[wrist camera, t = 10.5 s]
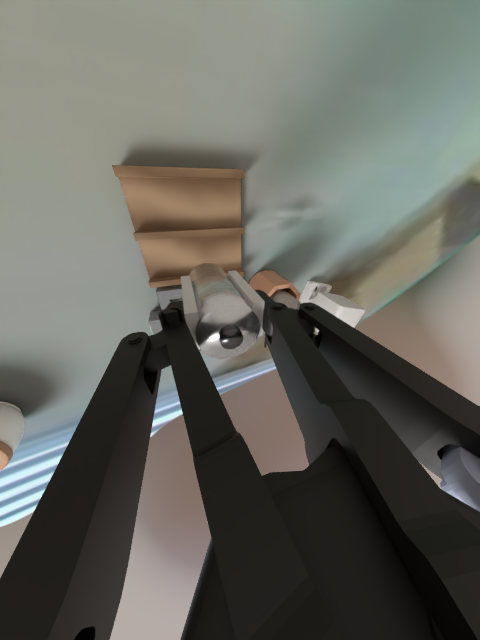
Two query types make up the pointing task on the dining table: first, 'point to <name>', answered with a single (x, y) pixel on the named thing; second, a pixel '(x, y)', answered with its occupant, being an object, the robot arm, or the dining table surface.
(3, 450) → the lidded jar
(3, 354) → the dining table surface
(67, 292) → the dining table surface
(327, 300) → the security camera
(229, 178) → the trough board
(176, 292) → the cradle
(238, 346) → the cell
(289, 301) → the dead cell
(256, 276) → the octagonal tan cylinder
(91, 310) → the dining table surface
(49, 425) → the dining table surface
